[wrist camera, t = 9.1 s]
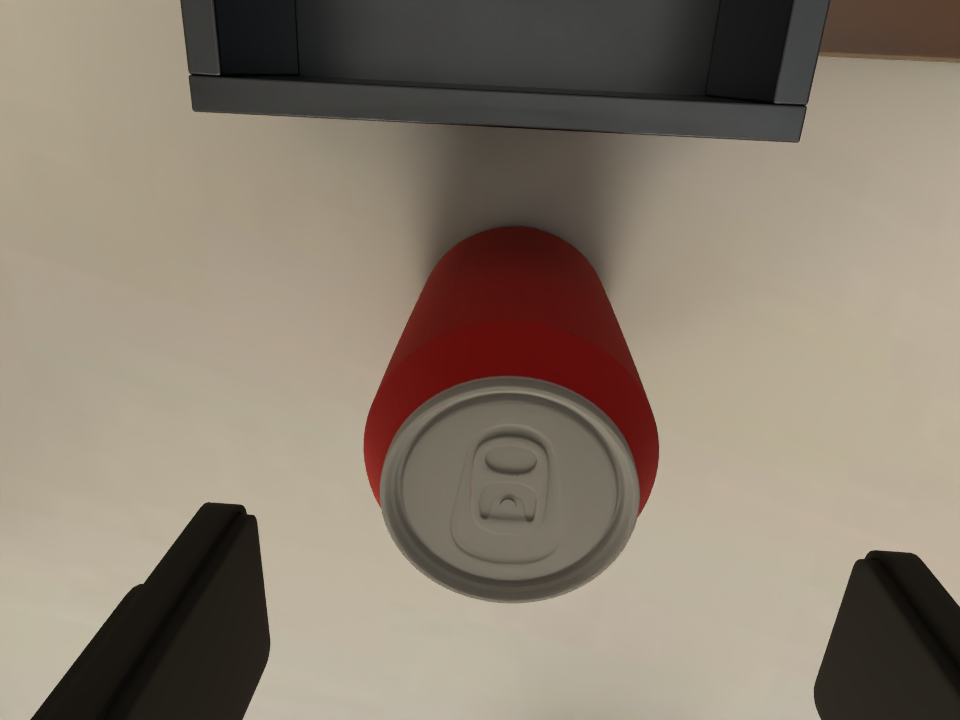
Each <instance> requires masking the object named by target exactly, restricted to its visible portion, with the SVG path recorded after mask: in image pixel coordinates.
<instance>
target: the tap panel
mask: <svg viewBox="0 0 960 720" xmlns="http://www.w3.org/2000/svg"><path fill="white" fill-rule="evenodd" d="M818 56H829V57H850V58H871V59H892V60H913V61H935V62H956V63H960V0H831V1H830V5H829V10H828V14H827V19H826V23H825V28H824V32H823V37H822V41H821V46H820V50H819V55H818Z"/></svg>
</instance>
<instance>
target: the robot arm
mask: <svg viewBox="0 0 960 720" xmlns="http://www.w3.org/2000/svg"><path fill="white" fill-rule="evenodd" d="M269 651H270V634H269V625H268V616H267V607H266V598H265V589H264V580H263V571H262V562H261V553H260V544H259V535H258V526H257V520H256V517H255V516H254V515H247V513H246V509H245V507H244V506H242V505H238V504H224V503H210V502H208V503H205V504H204V505H203V506H202V507H201V508H200V509H199V510H198V512H197V513H196V514H195V516H194V517H193V518H192V520H191V521H190V522H189V524H188V525H187V526H186V528H185V529H184V530H183V532H182V533H181V534H180V536H179V537H178V538H177V540H176V541H175V542H174V544H173V545H172V546H171V548H170V549H169V550H168V552H167V553H166V554H165V556H164V557H163V558H162V560H161V561H160V562H159V564H158V565H157V566H156V568H155V569H154V571H153V572H152V573H151V575H150V576H149V577H148V579H147V580H146V581H145V583H144V584H139V585H137V586H135V587H133V588H132V589H131V590H130V591H129V592H128V593H127V595H126V596H125V597H124V598H123V600H122V601H121V602H120V603H119V605H118V606H117V607H116V609H115V610H114V611H113V613H112V614H111V615H110V617H109V618H108V619H107V620H106V622H105V623H104V624H103V626H102V627H101V628H100V630H99V631H98V632H97V634H96V635H95V636H94V637H93V639H92V640H91V641H90V643H89V644H88V645H87V647H86V648H85V649H84V651H83V652H82V653H81V654H80V656H79V657H78V658H77V660H76V661H75V662H74V664H73V665H72V666H71V668H70V669H69V670H68V671H67V673H66V674H65V675H64V677H63V678H62V679H61V681H60V682H59V683H58V685H57V686H56V687H55V688H54V690H53V691H52V692H51V694H50V695H49V696H48V698H47V699H46V700H45V702H44V703H43V704H42V705H41V707H40V708H39V709H38V711H37V712H36V713H35V715H34V716H33V717H32V719H31V720H242V719H243V717H244V715H245V712H246V710H247V708H248V706H249V703H250V701H251V699H252V696H253V694H254V692H255V690H256V687H257V685H258V683H259V680H260V678H261V676H262V674H263V671H264V669H265V667H266V664H267V661H268V657H269ZM814 700H815V705H816V708H817V711H818V713H819V716H820V718H821V720H960V607H959V606H958V604H957V603H956V602H955V601H954V599H953V598H952V597H951V596H950V595H949V593H948V592H947V591H946V590H945V588H944V587H943V586H942V585H941V583H940V582H939V581H938V580H937V579H936V577H935V576H934V575H933V574H932V572H931V571H930V570H929V569H928V567H927V566H926V565H925V564H924V563H923V561H922V560H921V559H920V558H919V557H918V556H917V555H915V554H912V553H905V552H891V551H878V550H874V551H870V552H869V553H868V554H867V555H866V557H865V559H859V560H857V561H856V562H855V564H854V566H853V569H852V572H851V575H850V578H849V581H848V584H847V587H846V590H845V594H844V597H843V600H842V603H841V606H840V609H839V612H838V615H837V618H836V621H835V624H834V627H833V630H832V633H831V636H830V639H829V642H828V645H827V648H826V651H825V654H824V657H823V661H822V664H821V667H820V670H819V673H818V676H817V679H816V682H815V686H814Z"/></svg>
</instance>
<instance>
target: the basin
mask: <svg viewBox="0 0 960 720" xmlns="http://www.w3.org/2000/svg"><path fill="white" fill-rule="evenodd" d="M180 1H181V10H182V19H183V27H184V36H185V44H186V53H187V62H188V70H189V73H190V74H192V75H190V76H189V83H190V92H191V100H192V109H193V111H195V112H212V113H232V114H251V115H270V116H290V117H309V118H329V119H348V120H368V121H387V122H406V123H426V124H445V125H465V126H484V127H503V128H523V129H542V130H562V131H581V132H601V133H620V134H639V135H659V136H678V137H698V138H717V139H737V140H756V141H775V142H795V143H797V142H799V140H800V136H801V132H802V127H803V123H804V118H805V114H806V109H807V107H806V106H804V105H807V103H808V100H809V95H810V91H811V86H812V82H813V77H814V73H815V68H816V64H817V59H818V55H819V50H820V46H821V41H822V37H823V32H824V28H825V23H826V19H827V14H828V10H829V5H830V1H831V0H180Z"/></svg>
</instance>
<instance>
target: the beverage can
mask: <svg viewBox="0 0 960 720" xmlns="http://www.w3.org/2000/svg"><path fill="white" fill-rule="evenodd" d="M364 460H365V466H366V471H367V475H368V479H369V482H370V486H371V488H372V491H373V493H374V496H375V498H376V500H377V502H378V504H379V506H380V507H381V510H382V514H383V518H384V521H385V524H386V526H387V529H388V531H389V533H390V535H391V537H392V539H393V541H394V542H395V544H396V546H397V547H398V549H399V550H400V551H401V552H402V554H403V555H404V556H405V557H406V558H407V560H408V561H409V562H410V563H411V564H412V565H413V566H414V567H415V568H417V569H418V570H419V571H420V572H421V573H423V574H424V575H425V576H427V577H428V578H430V579H431V580H432V581H434V582H436V583H438V584H439V585H441V586H443V587H445V588H447V589H449V590H451V591H454V592H456V593H459V594H461V595H464V596H467V597H470V598H475V599H479V600H484V601H489V602H498V603H527V602H535V601H541V600H546V599H550V598H554V597H557V596H560V595H563V594H566V593H568V592H571V591H573V590H575V589H577V588H579V587H581V586H583V585H585V584H586V583H588V582H590V581H591V580H593V579H594V578H595V577H597V576H598V575H600V574H601V573H602V572H603V571H604V570H606V569H607V568H608V567H609V566H610V565H611V564H612V563H613V562H614V561H615V559H616V558H617V557H618V556H619V554H620V553H621V552H622V550H623V549H624V547H625V546H626V544H627V542H628V540H629V538H630V536H631V534H632V532H633V530H634V527H635V524H636V521H637V518H638V516H639V515H640V513H641V512H642V510H643V508H644V506H645V504H646V502H647V500H648V498H649V496H650V493H651V490H652V487H653V484H654V481H655V477H656V473H657V468H658V460H659V441H658V432H657V427H656V423H655V419H654V416H653V413H652V410H651V407H650V404H649V402H648V399H647V396H646V393H645V391H644V388H643V385H642V383H641V380H640V377H639V374H638V372H637V369H636V366H635V364H634V361H633V359H632V356H631V354H630V351H629V348H628V346H627V343H626V341H625V338H624V336H623V333H622V331H621V328H620V326H619V324H618V321H617V319H616V316H615V314H614V311H613V309H612V307H611V304H610V302H609V300H608V297H607V295H606V293H605V291H604V288H603V286H602V284H601V281H600V279H599V277H598V275H597V274H596V272H595V270H594V269H593V267H592V266H591V264H590V263H589V262H588V260H587V259H586V258H585V257H584V256H583V255H582V254H581V253H580V252H579V251H578V250H577V249H576V248H574V247H573V246H572V245H570V244H569V243H567V242H566V241H564V240H562V239H561V238H559V237H557V236H555V235H553V234H550V233H547V232H545V231H541V230H538V229H533V228H528V227H500V228H495V229H490V230H486V231H483V232H480V233H478V234H475V235H473V236H471V237H469V238H467V239H465V240H463V241H462V242H460V243H459V244H457V245H456V246H455V247H453V248H452V249H451V250H450V251H449V252H448V253H447V254H446V255H445V256H444V257H443V258H442V259H441V260H440V261H439V262H438V264H437V265H436V267H435V268H434V270H433V271H432V273H431V275H430V277H429V278H428V280H427V282H426V284H425V286H424V288H423V290H422V292H421V294H420V297H419V299H418V301H417V303H416V305H415V307H414V309H413V311H412V313H411V316H410V318H409V320H408V322H407V324H406V327H405V329H404V331H403V333H402V335H401V338H400V340H399V342H398V344H397V347H396V349H395V351H394V353H393V356H392V358H391V360H390V363H389V365H388V367H387V370H386V372H385V374H384V377H383V379H382V382H381V384H380V386H379V389H378V391H377V393H376V396H375V398H374V401H373V403H372V405H371V408H370V411H369V414H368V417H367V422H366V426H365V434H364Z"/></svg>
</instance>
